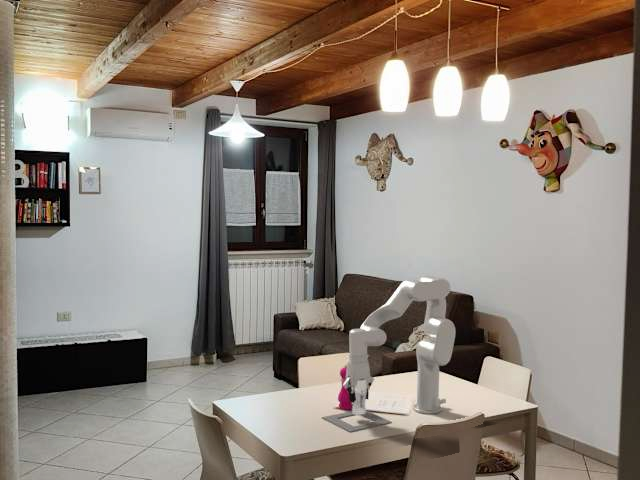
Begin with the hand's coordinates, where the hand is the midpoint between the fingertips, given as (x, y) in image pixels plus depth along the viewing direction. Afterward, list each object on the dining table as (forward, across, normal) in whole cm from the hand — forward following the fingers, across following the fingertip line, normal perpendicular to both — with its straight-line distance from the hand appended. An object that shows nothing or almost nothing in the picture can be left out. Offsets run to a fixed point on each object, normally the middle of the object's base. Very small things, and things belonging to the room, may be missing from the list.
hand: (358, 399), depth 272 cm
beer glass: (+6, 0, 0) cm, 6 cm away
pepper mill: (+9, -5, -16) cm, 19 cm away
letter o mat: (+9, +1, 0) cm, 9 cm away
